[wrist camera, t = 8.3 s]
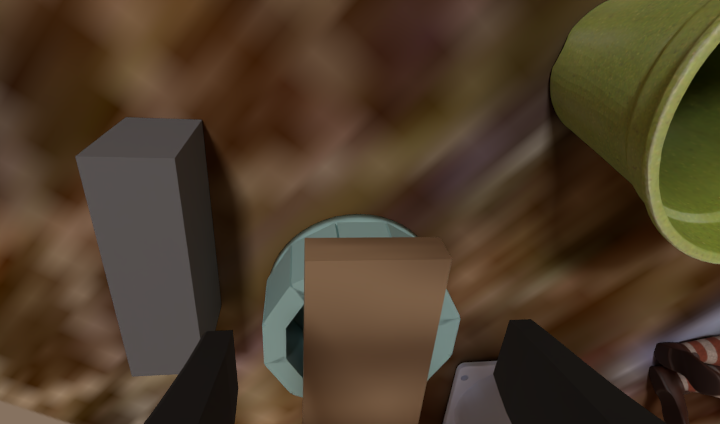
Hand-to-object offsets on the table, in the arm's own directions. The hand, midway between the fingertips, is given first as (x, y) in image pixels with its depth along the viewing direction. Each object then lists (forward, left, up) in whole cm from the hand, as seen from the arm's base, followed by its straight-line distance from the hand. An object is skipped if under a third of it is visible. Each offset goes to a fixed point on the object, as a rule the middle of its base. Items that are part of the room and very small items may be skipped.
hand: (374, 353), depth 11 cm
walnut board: (-6, -1, -6) cm, 9 cm away
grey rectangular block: (-2, +8, -10) cm, 13 cm away
